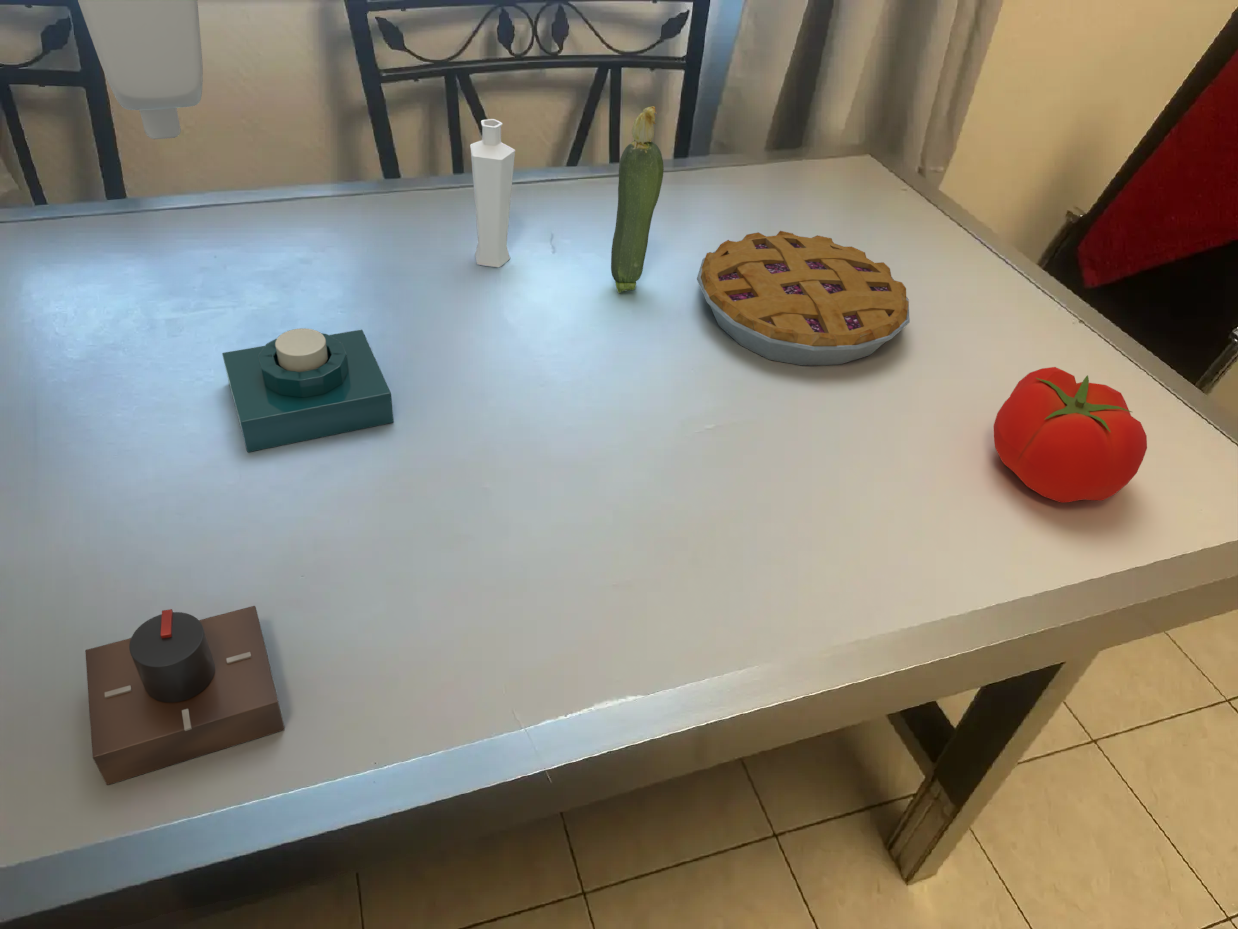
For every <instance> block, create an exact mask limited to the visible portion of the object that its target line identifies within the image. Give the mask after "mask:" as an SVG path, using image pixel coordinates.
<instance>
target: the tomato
mask: <svg viewBox="0 0 1238 929" xmlns="http://www.w3.org/2000/svg"><path fill="white" fill-rule="evenodd" d="M1131 413H1132V411H1131V410H1129V407H1128V404H1127V402H1126V400H1125V398H1124V396H1123V394H1122V392H1120V391H1118V390H1116V389H1115V388H1112V387H1111V386H1109V385H1107V384H1103V383H1096V382H1090V380H1089V375H1085V378H1083V379H1082V381H1080V382H1077V381H1076V377H1075V375H1073V374H1071V373H1069V372H1067V371H1065V370H1063V369H1062V368H1061V369H1060V368H1059V367H1056V366H1051V367H1043V368H1040V369H1037V370H1034V371H1031V372H1028V373H1027V374H1026V375H1025V376H1023V377H1022V378H1021V379H1020V380H1019V381H1018V382H1017V384H1016V386H1015V387H1014V388H1013V390H1012V391H1011V393H1010V395H1009V397H1008V398H1007V399H1006V400H1005V401H1004V403H1003V404H1002V405H1001V407H1000V408H999V410H998V412H997V413H996V416H995V420H994V423H993V441H994V449H995V450H996V453H997V454H998V456H999V459H1000V461H1001V462H1002V464H1003V465H1005V466H1006V467H1007V468H1008V469H1010V470H1011V472H1013V473H1014V474H1015V475H1016V476H1017V477H1018V478H1019V480H1021V481H1022V483H1023V484H1024V485H1025V486H1026V487H1027V488H1029V489H1031V490H1032V491H1034V492H1036V493H1037V494H1039V495H1040V496H1042V497H1044V498H1046V499H1050V500H1052V501H1055V502H1058V503H1060V504H1061V503H1070V502H1077V501H1083V500H1087V501H1104V500H1106V499H1108V498H1110V497H1112V496H1115V494H1117V493H1118V492H1119V491H1120V490H1122V489H1124V488H1125V486H1127V485H1128V484H1129V482H1130V481H1131V480H1132V479H1133V478H1134V477H1135V476H1136V474H1138V471H1139V469H1140V467H1141V466H1142V463H1143V460H1144V459H1145V455H1146V453H1147V450H1148V437H1147V436H1148V435H1147V433H1146V431H1145V429H1144V426H1143V425H1142V422H1140V421H1139V420H1138V419H1136V418H1135V417H1134V416H1132V414H1131Z"/></svg>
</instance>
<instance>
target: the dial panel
mask: <svg viewBox="0 0 1238 929" xmlns="http://www.w3.org/2000/svg"><path fill="white" fill-rule="evenodd" d="M198 620H199V621H200V622H201V624H202V626H203V629H204V632H205V635H206V638H207V641H208V644H209V648H210V651H211V654H212V657H213V660H214V664H215V672H214V676H213V678H212V680H211V682H210V683H209V685H208V686H207V687H206V688H205V689H204V690H203V691H202V692H200V693H199V694H197V695H196V696H194V697H192V698H190V699H187V700H184V701H180V702H173V703H168V702H161V701H158V700H155V699H154V698H152V697H151V696H149V695H148V693H147V692H146V690H145V688H144V686H143V683H142V681H141V678H140V676H139V673H138V671H137V668H136V666H135V663H134V661H133V659H132V656H131V654H130V650H129V644H130V640H131V637H129V638H125V639H122V640H117V641H114V642H111V643H106V644H102V645H99V646H96V647H91V648H87V649H85V667H86V681H87V683H86V684H87V695H88V709H89V726H90V739H91V754H92V756H91V757H92V759H93V761H94V763H95V765H96V767H97V769H98V771H99V773H100V775H101V777H102V778H103V781H104V783H105V784H106V785H107V786H109V785H113V784H115V783H119V782H122V781H126V780H128V779H131V778H135V777H138V776H141V775H144V774H148V773H150V772H154V771H157V770H161V769H163V768H166V767H171V766H173V765H176V764H179V763H183V762H187V761H189V760H193V759H195V758H199V757H202V756H205V755H209V754H212V753H215V752H218V751H221V750H225V749H227V748H231V747H234V746H237V745H240V744H244V743H246V742H250V741H253V740H257V739H259V738H263V737H266V736H269V735H272V734H276V733H278V732H282V731H284V730H285V728H286V727H285V725H284V720H283V715H282V712H281V707H280V703H279V702H280V701H279V699H278V694H277V689H276V686H275V682H274V677H273V673H272V668H271V665H270V660H269V656H268V650H267V648H266V643H265V638H264V634H263V630H262V626H261V622H260V619H259V615H258V611H257V606H256V605H251V606H247V607H243V608H240V609H236V610H232V611H229V612H225V613H220V614H217V615H213V616H209V617H205V618H201V619H198Z"/></svg>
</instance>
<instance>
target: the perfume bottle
mask: <svg viewBox="0 0 1238 929" xmlns="http://www.w3.org/2000/svg"><path fill="white" fill-rule="evenodd" d="M480 124H481V129H482V130H481V131H482V132H481V138H482V139H481V140H478V141H476V142H475V141H474V142H472V143H471V144H470V145H469V147H470V159H471V160H470V161H471V170H472V172H471V173H472V183H473V184H472V185H473V197H474V210H475V219H476V220H475V222H476V235H477V245H476V249H475V251H474V257H475V263H476V265H478V266H484V267H485V266H486V267H492V268H501V267H502V266H503V265H505V264H506V263H507V262H508V261H510V260H511V257H510V253H509V250H508V234H509V223H510V213H511V212H510V210H511V202H512V201H511V200H512V189H513V179H514V167H515V156H516V149H515V148H513V147H511V146H509V145H507V144H506V143H503V142H502V126H503V122H501V121H499V120H498V119H495V118H487V119H482V120H481V121H480Z"/></svg>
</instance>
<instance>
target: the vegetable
mask: <svg viewBox="0 0 1238 929" xmlns="http://www.w3.org/2000/svg"><path fill="white" fill-rule="evenodd" d="M655 114H657V111H656V106H652V105H651V106H648V107H645V108H643V109H642V112H640V113H639V114H638V115H637V117H636V118H635V120H634V121H633V124H632V128H631V136H632V138H633V141H631V142H630V143H628V145H626V147H625V148H624V150H623V152H622V154H621V156H620V159H619V162H618V163H619V165H618V187H617V210H616V217H615V218H616V219H615V227H614V232H613V238H612V242H611V254H610V272H611V276H612V278H613V280H614V283H615V288H616V291H617V293H618V295H619V294H621V293H622V292H630V291H635V290H636V287H637V282H638V281H639V280H640V279H641V277H642V274H643V271H644V264H645V259H646V254H647V250H648V245H649V236H650V229H651V224H652V219H653V215H654V211H655V208H656V206H657V203H658V201H659V197H660V193H661V190H662V189H661V188H662V184H663V178H664V167H665V166H664V160H663V154H662V152H661V149H660V148H659V146H658V145H657V143H655V142H654V141H653V140H654V136H655V127H654V125H656V124H657V123H656V122H655V120H656V115H655Z"/></svg>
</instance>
